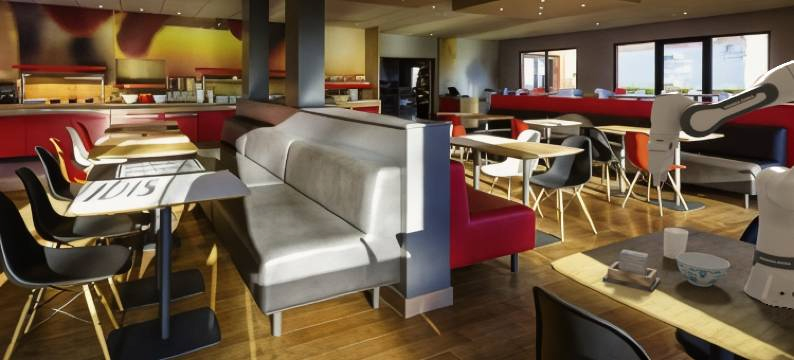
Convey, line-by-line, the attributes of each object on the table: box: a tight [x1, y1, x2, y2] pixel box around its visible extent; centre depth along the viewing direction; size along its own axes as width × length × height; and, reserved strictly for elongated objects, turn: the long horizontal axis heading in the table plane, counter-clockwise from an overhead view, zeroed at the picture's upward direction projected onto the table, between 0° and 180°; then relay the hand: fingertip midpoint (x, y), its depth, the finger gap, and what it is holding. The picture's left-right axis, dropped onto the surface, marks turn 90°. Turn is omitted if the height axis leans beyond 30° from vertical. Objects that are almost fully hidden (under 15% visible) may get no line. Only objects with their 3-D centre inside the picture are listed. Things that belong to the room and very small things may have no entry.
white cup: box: [663, 227, 689, 260], centre depth 194 cm, size 8×8×10 cm
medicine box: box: [618, 249, 649, 276], centre depth 171 cm, size 8×4×9 cm, turn 53°
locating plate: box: [602, 261, 661, 293], centre depth 172 cm, size 15×11×4 cm
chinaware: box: [675, 252, 731, 288], centre depth 170 cm, size 15×15×8 cm
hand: (659, 183), depth 175 cm, fingers open, 8 cm apart
